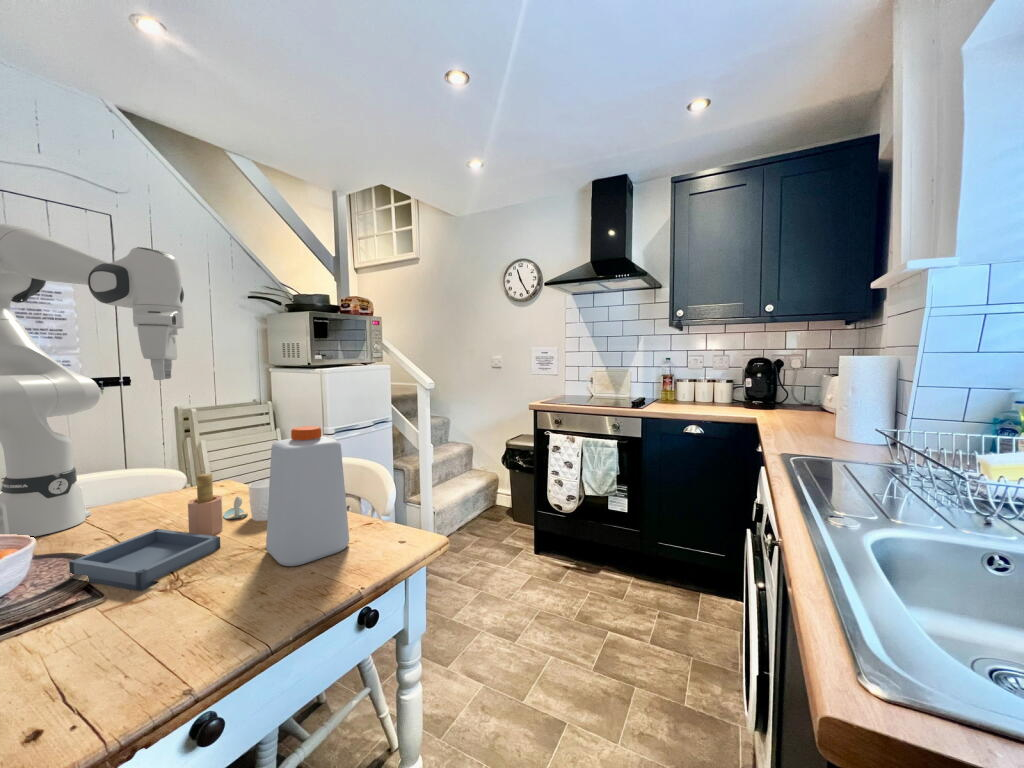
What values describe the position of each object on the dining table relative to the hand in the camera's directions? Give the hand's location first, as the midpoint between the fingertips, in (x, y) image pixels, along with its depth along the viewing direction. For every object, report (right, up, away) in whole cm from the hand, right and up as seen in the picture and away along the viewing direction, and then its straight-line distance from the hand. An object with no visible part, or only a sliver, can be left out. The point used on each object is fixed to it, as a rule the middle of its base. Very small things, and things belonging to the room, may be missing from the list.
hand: (163, 379), depth 95 cm
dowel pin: (+7, -37, +4) cm, 38 cm away
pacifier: (+7, -38, +14) cm, 41 cm away
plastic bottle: (+35, -39, -2) cm, 53 cm away
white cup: (+15, -38, +15) cm, 44 cm away
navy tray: (+6, -39, -10) cm, 41 cm away
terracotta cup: (+7, -38, +4) cm, 39 cm away
